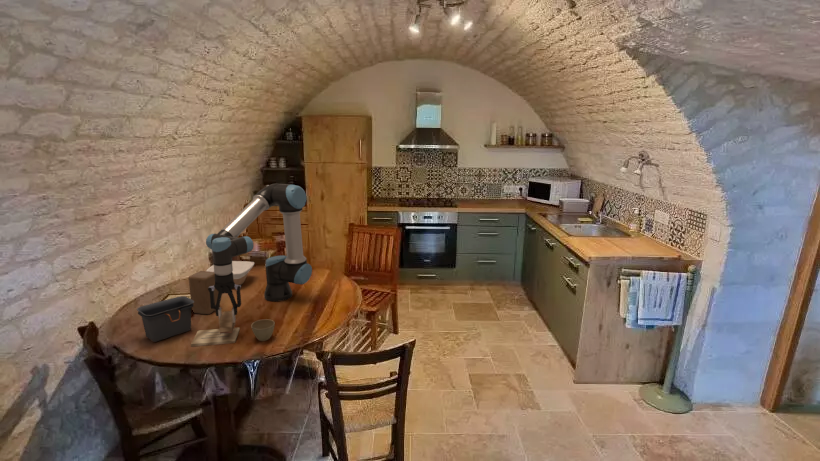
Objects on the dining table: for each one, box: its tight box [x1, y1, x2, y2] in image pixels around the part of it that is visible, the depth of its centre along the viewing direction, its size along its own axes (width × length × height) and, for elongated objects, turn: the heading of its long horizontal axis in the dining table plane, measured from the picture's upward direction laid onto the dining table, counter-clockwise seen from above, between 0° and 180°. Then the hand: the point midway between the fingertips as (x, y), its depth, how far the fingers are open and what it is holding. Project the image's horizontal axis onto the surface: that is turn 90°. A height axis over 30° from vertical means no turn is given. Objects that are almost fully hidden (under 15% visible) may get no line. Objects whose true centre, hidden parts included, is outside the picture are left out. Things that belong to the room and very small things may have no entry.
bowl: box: [205, 260, 255, 286], centre depth 261 cm, size 24×25×11 cm
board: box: [190, 327, 240, 347], centre depth 195 cm, size 18×13×1 cm
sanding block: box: [218, 310, 236, 333], centre depth 195 cm, size 5×9×6 cm, turn 13°
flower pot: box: [250, 318, 275, 342], centre depth 195 cm, size 10×10×7 cm
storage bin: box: [136, 295, 194, 343], centre depth 196 cm, size 21×16×14 cm
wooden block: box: [188, 270, 221, 315], centre depth 222 cm, size 10×10×20 cm
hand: (227, 321), depth 195 cm, fingers closed on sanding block, 5 cm apart
